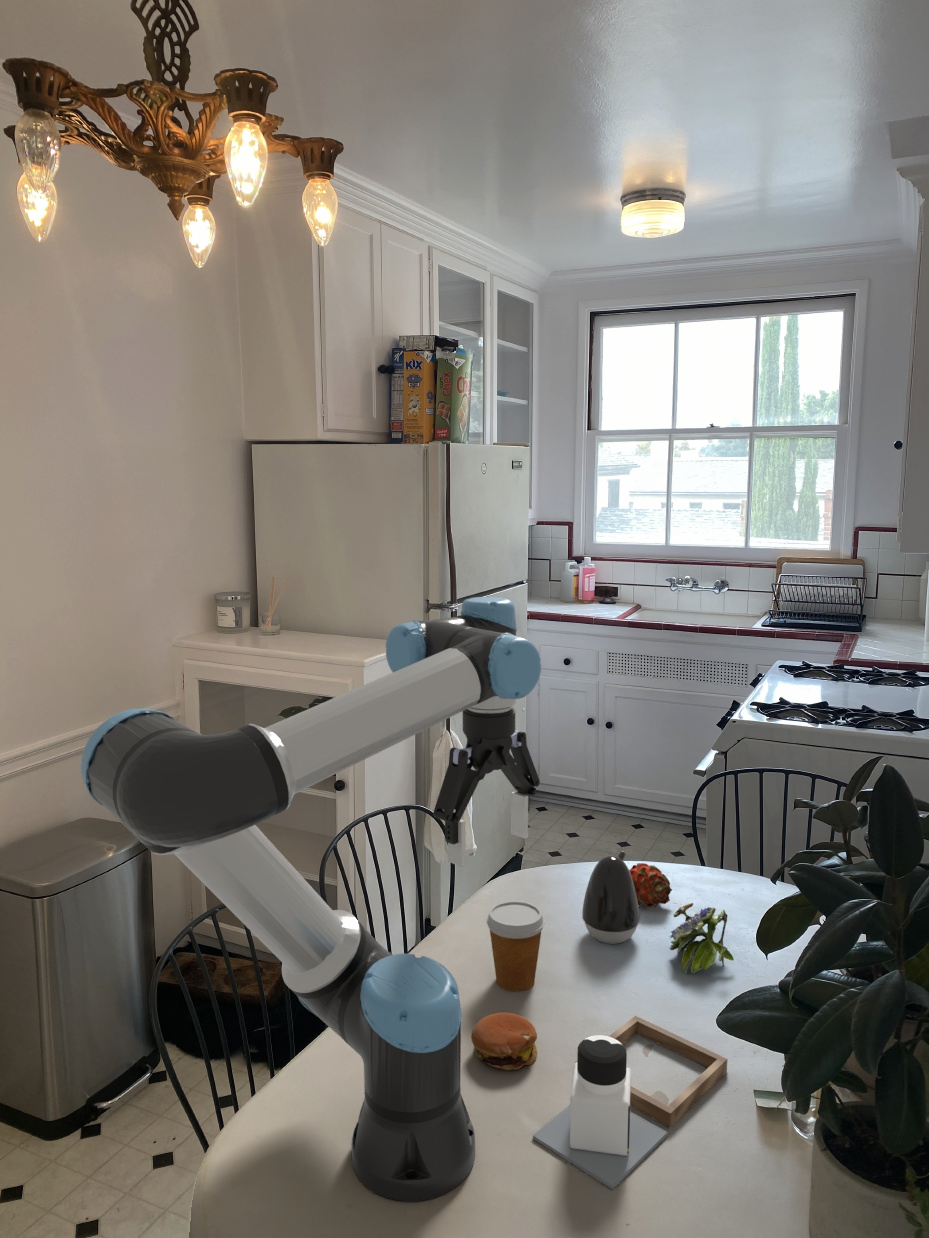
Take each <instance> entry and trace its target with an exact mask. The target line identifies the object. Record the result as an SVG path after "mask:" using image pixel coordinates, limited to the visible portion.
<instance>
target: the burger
mask: <svg viewBox="0 0 929 1238" xmlns="http://www.w3.org/2000/svg"><path fill="white" fill-rule="evenodd" d="M537 1034H538V1033H537V1030H536V1028H535V1027H534V1025H533V1024H532V1023H531V1021H529V1019H527V1018H525V1017H524V1016H522V1015H519V1014H517V1013H512V1012H496V1013H492V1014H489V1015H486V1016H484V1017H482V1018H481V1019H480V1020H478V1021H477V1022H476V1024H475V1025H474V1026H473V1029H472V1031H471V1035H470V1036H471V1042H472V1044H473V1047H474V1051H475V1054H476V1056H477V1057H478V1058H479V1059H480V1061H482V1063H484V1064H487V1065H489V1066H490V1067H493V1068H496V1069H500V1070H501V1069H502V1070H505V1071H511V1070H520V1069H521V1068H522V1067H524V1065H527V1066H531V1065H532V1064H534V1063H535V1061H536V1059H537V1056H538V1050H537V1046H536V1042H537V1039H538V1035H537Z"/></svg>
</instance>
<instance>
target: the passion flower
mask: <svg viewBox="0 0 929 1238" xmlns="http://www.w3.org/2000/svg"><path fill="white" fill-rule="evenodd" d="M693 906H694V903H693V902H691V903H688V904H685V905H683V906H680V907H679V908H678V909H677V910H676V911H675V912H674V913H673V918H677V917H679V916H680V915H683V916H685V919H684V920H685V921H684V922H683V923H681V924H679V926H677V927H676V928H675V929H673V930H672V931H670V932H671V935H669V936H668V938H669V939H671V938H672V939H673V940H671V941H670V943H671V945H670V947H669V950H670V951H674V950H677V952H678V953H680V951H684V952H683V954H682V958H681V959H682V960H681V963H680V964H681V969H682V970H683V972H684V973H686V974H687V973H688V968H689V966H690V965H691V966H690V967H691V968H690V972H691V973H693V974H694V973H697V972H698V971H700V970H703V971H705V970H708V969H709V968H711V966H713V964H714V963H715V961H716V959H717V954H719V958H718V961H719V962H722V963H721V964H722V967H724V966H725V965H724V964H725V963H724V962H725V960H724V959H726V960H729V961H734V956H733V954H732V953H731V952H730V951H729V950H728V947H727V946H724V936H725V930H726V925H727V922H728V914H727V913H726V911H725V909H723V910H722V911H721V912H720V913H719V914H717V915H716V914H715V912H716V910H717V909H716V908H715V907H709V906H708V907H704V909H703V908H701V909H700V911H699V912H696V913H695V914H694V916H690V915H688V914H687V910H689V909H690V908H692V907H693ZM714 914H715V915H714ZM722 921H723V927H722V932H721V936H720V939H719V940H718V942H715V941H714V935H715V932H716V930H717V928H716V927H717V925H718V924H719V923H721V922H722ZM706 925H707V931H705V929H704V927H705V926H706ZM698 937H703V938H702V939H701V940H697V938H698Z"/></svg>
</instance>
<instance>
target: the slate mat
mask: <svg viewBox="0 0 929 1238" xmlns="http://www.w3.org/2000/svg"><path fill="white" fill-rule="evenodd" d="M667 1136H668V1131H666V1130H664V1129H662V1128H661V1127H659V1126H657V1125H656V1124H653V1123H652V1122H650V1121H648V1120H646V1119H645V1118H642V1117H641V1116H639V1115H637V1114H635V1113H634V1112H632V1111H630V1130H629V1154H628V1155H627V1156H623V1155H615V1154H608V1153H601V1152H594V1151H587V1150H580V1149H573V1148H571V1147H570V1104H569V1105H568V1106H567V1107H565V1108H564V1109H563V1110H561V1111H560V1112H559V1113H558V1114H557V1115H556V1116H555V1117H553V1118H552V1119H550V1121H548V1122H547V1123H546V1124H544V1125H543V1126H542V1127H541V1128H540V1129H539V1130H537V1131H536V1132H535V1133H534V1134H532V1139H533V1140H534V1141H536V1143H539V1144H540V1145H542V1146H544V1147H545V1148H547V1149H548V1150H550V1151H551V1152H552V1153H555V1154H556V1155H557V1156H559V1157H561V1158H562V1159H564V1160H565V1161H567V1162H568V1163H570V1164H571V1163H572V1165H573V1166H574V1167H576V1168H577V1169H579V1170H581V1171H583V1172H584V1173H586V1174H587V1175H589V1176H590V1177H592V1178H593V1179H595V1180H597V1181H598V1182H600V1183H601V1184H603V1185H605V1186H606V1187H607V1188H609V1189H611V1190H614V1189H615V1188H616V1187H617V1186H619V1185H620V1183H621V1182H623V1180H624V1179H625V1178H626V1177H627V1176H628V1175H629V1174H630V1173H631V1172H633V1171H634V1170H635V1168H636V1167H637V1166H639V1165H640V1163H642V1161H644V1160H645V1158H646V1157H648V1155H650V1154H651V1153H652V1151H654V1150H655V1148H657V1147H658V1145H660V1143H662V1142H663V1141H664V1140H665V1139H666V1138H667Z"/></svg>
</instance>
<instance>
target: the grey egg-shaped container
mask: <svg viewBox="0 0 929 1238" xmlns="http://www.w3.org/2000/svg"><path fill="white" fill-rule="evenodd" d="M625 858H626V852H624V851H620V852H619V853H618V854H617V856H616V855H606V856H604V857H602V858H600V859H599V861H598V862H597V863H596V864H595V867H593V871H592V872H591V875H590V878H589V880H588V883H587V886H586V890H585V893H584V898H583V905H582V909H581V910H582V912H581V913H582V915H581V917H582V920H583V921H584V925H585V927H586V930H587V931H588V933H589V934H590V936H592V937H593V938H594V939H596V940H597V941H599V942H601V943H605V944H611V945H615V944H617V945H618V944H620V943H623V942H626V941H628V940H630V938H631V937H633V935H634V934H635V932H636V930H637V927H638V925H639V923H640V920H641V918H640V916H641V915H640V914H641V913H640V906H639V904H638V898H637V893H636V889H635V885H634V882H633V879H632V876H631V873H630V871H629V870H630V869H629V868H628V866H627V864H626V863H625V861H624V860H625Z"/></svg>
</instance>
